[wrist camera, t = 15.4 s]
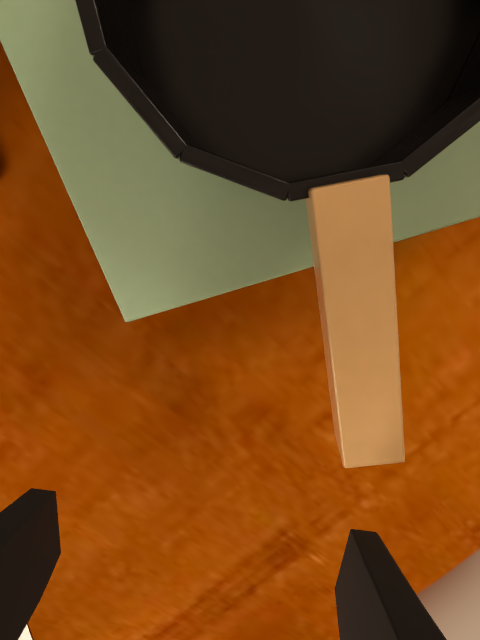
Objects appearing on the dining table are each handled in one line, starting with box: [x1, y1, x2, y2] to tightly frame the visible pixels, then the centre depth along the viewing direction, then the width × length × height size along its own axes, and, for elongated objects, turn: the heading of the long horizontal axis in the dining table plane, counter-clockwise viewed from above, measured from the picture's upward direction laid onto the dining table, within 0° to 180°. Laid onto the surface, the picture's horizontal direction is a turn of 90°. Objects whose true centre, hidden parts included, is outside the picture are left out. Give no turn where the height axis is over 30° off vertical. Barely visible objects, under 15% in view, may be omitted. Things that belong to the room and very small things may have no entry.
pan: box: [75, 0, 480, 468], centre depth 9 cm, size 17×10×4 cm, turn 11°
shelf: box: [0, 0, 480, 322], centre depth 12 cm, size 14×13×6 cm
